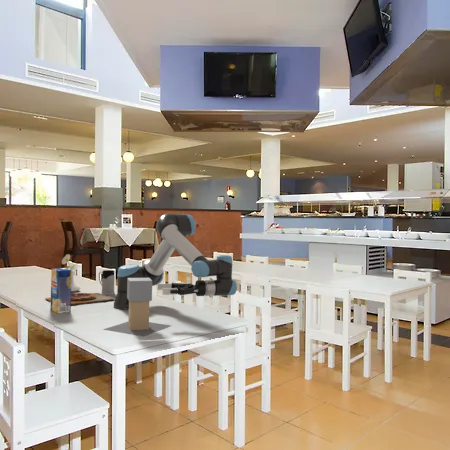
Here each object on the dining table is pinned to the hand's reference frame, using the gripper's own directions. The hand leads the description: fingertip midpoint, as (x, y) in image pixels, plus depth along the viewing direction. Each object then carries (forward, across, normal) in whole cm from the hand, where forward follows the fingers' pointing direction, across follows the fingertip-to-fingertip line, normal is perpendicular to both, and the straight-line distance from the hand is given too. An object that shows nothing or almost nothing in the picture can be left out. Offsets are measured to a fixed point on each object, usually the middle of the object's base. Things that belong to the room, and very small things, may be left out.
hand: (160, 289), depth 201 cm
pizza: (+35, +75, -19) cm, 84 cm away
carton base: (+9, 0, -17) cm, 20 cm away
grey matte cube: (+9, 0, -4) cm, 10 cm away
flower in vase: (+41, +106, -18) cm, 116 cm away
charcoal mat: (+9, 0, -18) cm, 20 cm away
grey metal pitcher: (+19, +96, -18) cm, 100 cm away
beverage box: (+45, +46, -18) cm, 66 cm away
